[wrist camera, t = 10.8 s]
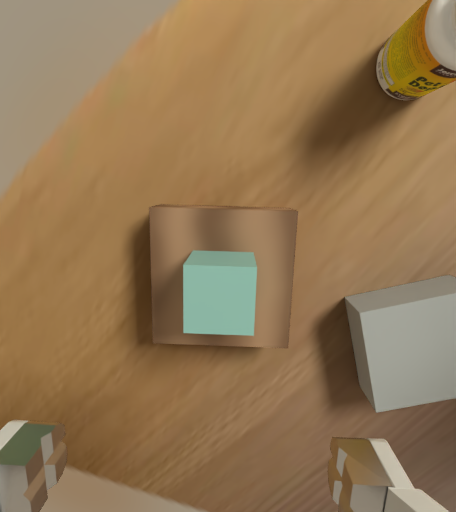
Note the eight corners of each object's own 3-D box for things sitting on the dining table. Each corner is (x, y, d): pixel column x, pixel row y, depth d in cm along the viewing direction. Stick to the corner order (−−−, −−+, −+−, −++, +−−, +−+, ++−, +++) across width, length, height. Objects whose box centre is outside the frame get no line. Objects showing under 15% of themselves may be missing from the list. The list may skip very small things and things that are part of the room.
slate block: (449, 274, 30) (480, 287, 26) (458, 367, 32) (488, 392, 28) (344, 297, 31) (359, 312, 27) (359, 386, 33) (376, 412, 29)
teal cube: (253, 252, 26) (257, 267, 22) (250, 309, 27) (253, 335, 23) (193, 250, 26) (183, 265, 22) (193, 307, 28) (183, 333, 23)
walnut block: (289, 208, 29) (297, 211, 26) (281, 328, 32) (288, 348, 28) (160, 204, 30) (149, 207, 26) (163, 324, 32) (152, 343, 28)
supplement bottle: (376, 109, 28) (456, 64, 18) (370, 37, 26) (451, -53, 16) (443, 94, 27) (563, 41, 17) (439, 22, 26) (565, -81, 16)
